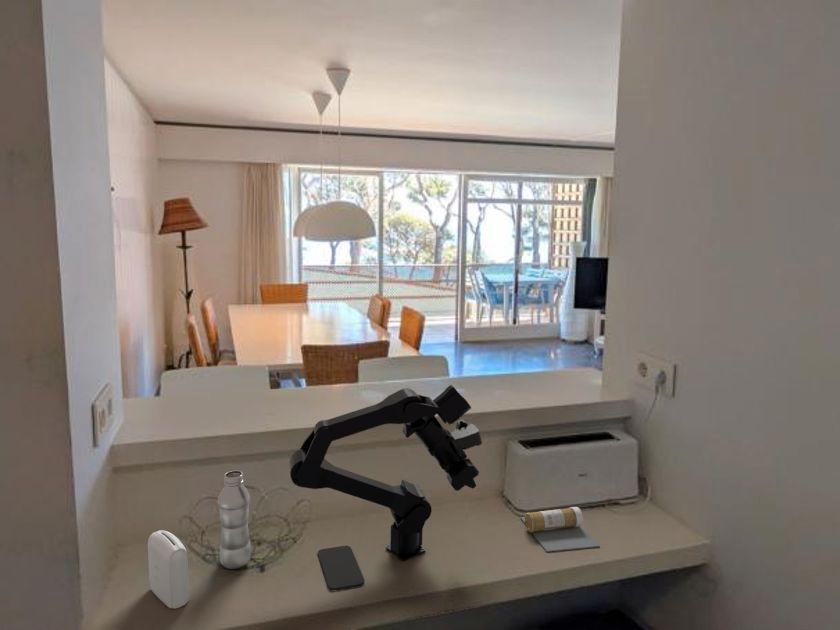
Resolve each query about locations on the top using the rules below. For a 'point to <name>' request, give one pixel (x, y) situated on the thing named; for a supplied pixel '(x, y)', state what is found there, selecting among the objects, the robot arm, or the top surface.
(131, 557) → the top surface
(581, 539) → the mat
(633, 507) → the top surface
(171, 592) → the photo printer
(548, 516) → the sprinkles bottle
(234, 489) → the plastic bottle
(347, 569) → the phone
